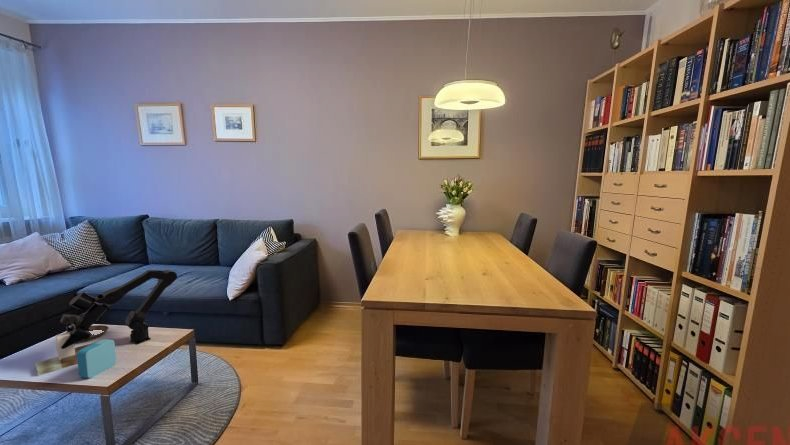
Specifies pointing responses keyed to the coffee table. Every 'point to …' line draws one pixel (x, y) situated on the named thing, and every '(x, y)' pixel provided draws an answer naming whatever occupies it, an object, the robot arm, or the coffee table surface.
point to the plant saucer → (97, 327)
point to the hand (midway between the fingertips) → (61, 346)
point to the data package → (96, 358)
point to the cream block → (66, 351)
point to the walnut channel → (58, 362)
